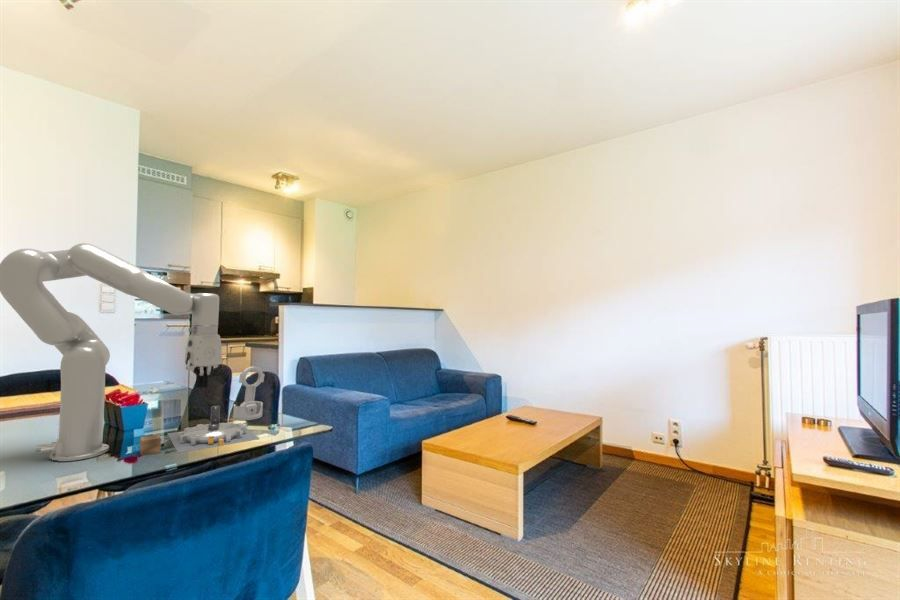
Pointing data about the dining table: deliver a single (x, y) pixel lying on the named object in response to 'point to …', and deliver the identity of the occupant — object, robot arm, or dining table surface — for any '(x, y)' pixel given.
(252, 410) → the engine component
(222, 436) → the sprocket
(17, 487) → the dining table surface
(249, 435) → the base plate
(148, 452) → the link block
